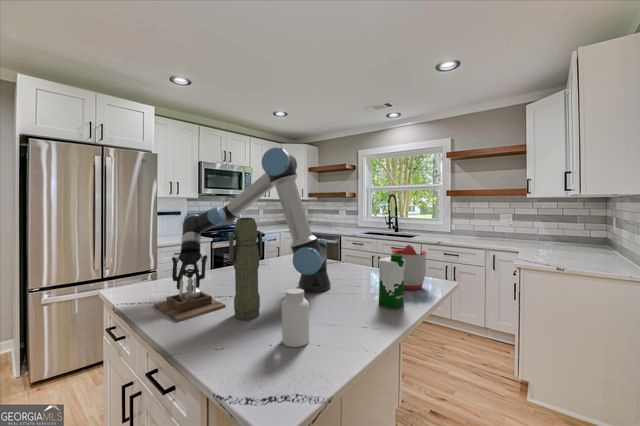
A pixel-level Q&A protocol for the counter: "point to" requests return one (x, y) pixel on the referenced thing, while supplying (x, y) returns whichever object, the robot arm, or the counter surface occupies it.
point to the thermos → (246, 268)
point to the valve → (189, 286)
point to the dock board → (188, 306)
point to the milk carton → (391, 281)
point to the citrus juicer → (412, 267)
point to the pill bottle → (295, 318)
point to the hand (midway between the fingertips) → (187, 295)
